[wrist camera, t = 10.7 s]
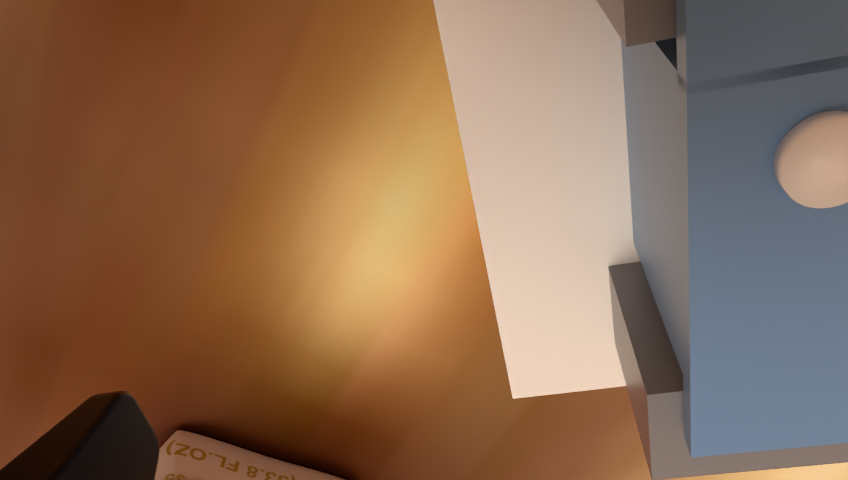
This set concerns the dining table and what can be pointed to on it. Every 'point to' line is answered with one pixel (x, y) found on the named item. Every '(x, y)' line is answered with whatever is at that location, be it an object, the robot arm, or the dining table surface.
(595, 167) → the plate
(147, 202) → the dining table surface
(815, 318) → the block
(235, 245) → the dining table surface
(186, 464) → the juice carton
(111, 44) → the dining table surface
